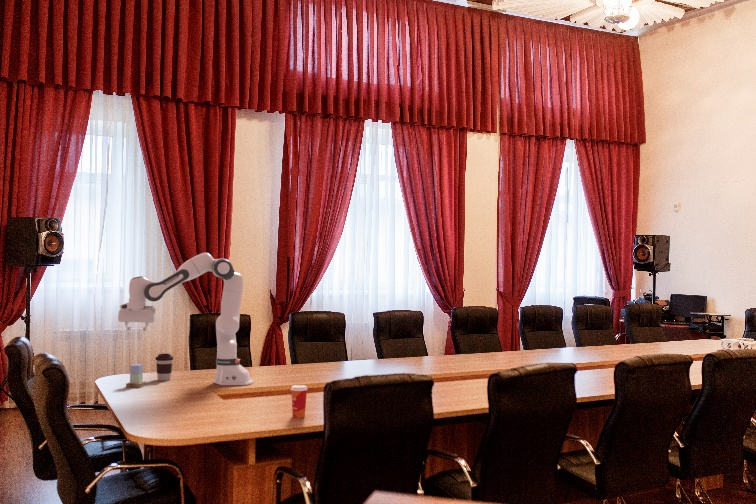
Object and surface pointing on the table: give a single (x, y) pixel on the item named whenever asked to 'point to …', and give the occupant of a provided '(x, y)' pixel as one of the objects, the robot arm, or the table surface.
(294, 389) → the paper cup
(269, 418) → the table surface
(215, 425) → the table surface
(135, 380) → the green block
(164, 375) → the coffee cup
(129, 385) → the baseplate
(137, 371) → the blue block
